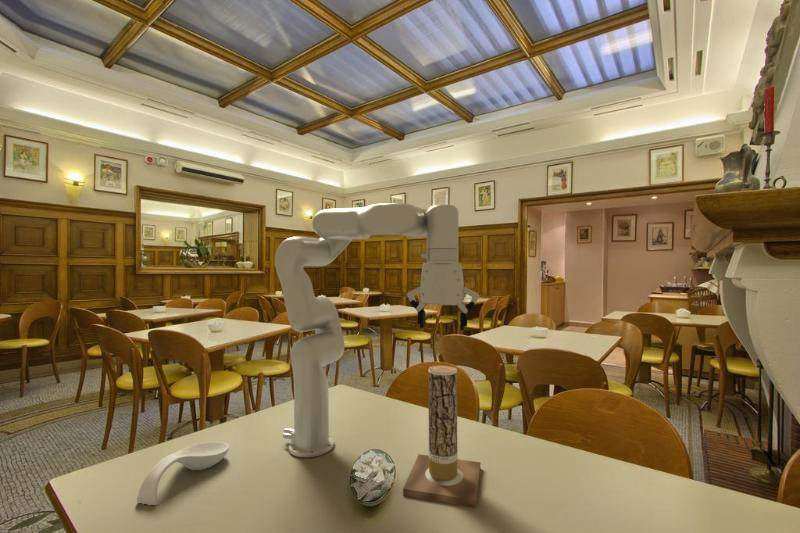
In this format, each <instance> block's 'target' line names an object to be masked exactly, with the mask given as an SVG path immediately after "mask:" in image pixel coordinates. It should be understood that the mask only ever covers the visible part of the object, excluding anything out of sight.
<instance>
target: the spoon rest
mask: <svg viewBox="0 0 800 533" xmlns="http://www.w3.org/2000/svg"><path fill="white" fill-rule="evenodd" d="M229 450H230V444H229V443H226V442H222V441H204V442H199V443H195V444H192V445H189V446H186V447H184V448H181V449H180V450H178V451H175V452H173V453H170V454H168V455H166V456H164V457H163V458H161V459H160V460H159V461H158V462H156V464H155V465H154V466H153V467H152V468H151V469H150V471H149V472H148V474H146V476H145V478H144V480H143V481H142V484H141V486H140V487H139V491H138V494H137V497H136V501H137V502H136V503H137V504H138V503H142V504H141V505H144V504H147V505H146V506H151V505H154V506H157V504H158V487H159V484H160V481H161V478H162V477H163V475H164V474H165V472H167V470H168V469H169V468H170V467H171V466H172V465H173V464H175V463H178V464H180V465H182V466H184V468H187V469H189V470H190V469H191V471H193V470H200V471H204V470H203V469H205V470H207V469H206V468H208V469H210V468H212V467H214V466H215V465H217V464H218V463H219V462H221V461H222V460H223V459H224V457H225V456H226V455H227V453H228V452H229ZM213 465H214V466H213ZM211 466H212V467H211ZM209 467H210V468H209Z"/></svg>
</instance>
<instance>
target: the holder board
mask: <svg viewBox="0 0 800 533" xmlns="http://www.w3.org/2000/svg"><path fill="white" fill-rule="evenodd" d="M480 475H481V461H480V462H479V461H473V460H466V459H465V460H464V459H458V458H457V475H456V477H455V478H453V479H451V480H447V481H442V480H438V479H435V478H433V477H432V476H431V474H430V473H429V454H428V455H427V454H421V453H419V454H417V457H416V459H415V461H414V464H413V466H412V468H411V471H410V473H409V475H408V477H407V479H406V481H405V483H404V485H403V488H402V496H405V497H411V498H416V499H417V498H418V499H423V500H428V501H429V500H430V501H435V502H440V503H448V504H452V505H459V506H465V507H471V508H477V502H478V495H479V494H478V493H479V486H480V485H479V484H480Z"/></svg>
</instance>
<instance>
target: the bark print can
mask: <svg viewBox="0 0 800 533" xmlns="http://www.w3.org/2000/svg"><path fill="white" fill-rule="evenodd" d="M457 370H458V369H457V368H456V367H454V366H451V365H450V366H449V365H433V366H430V367H428V381H427V382H428V456H429V473H430V474H431V476H432V477H433V478H435V479H438V480H442V481H447V480H451V479H453V478H455V477H456V475H457V459H458V371H457Z"/></svg>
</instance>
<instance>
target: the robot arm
mask: <svg viewBox="0 0 800 533" xmlns="http://www.w3.org/2000/svg"><path fill="white" fill-rule="evenodd" d="M311 224H312V229H313V231H314V232H315V234H316V235H317V236H318V237H319V238H317V237H316V238H315V237H309V236H292V237H288V238H286V239H284V240H283V241H282V242H281V243H280V244H279V245H278V248H277V249H276V252H275V256H274V268H275V270H276V275H277V277H278V279H279V282H280V286H281V289H282V294H283V301H284V305H285V309H286V314H287V319H288V323H289V325H290V327H291V329H292V330H293V331H295V332H297V333H303V332H309V331H314V333H315V334H310V335H307V336H303V337H301V338H299V339H297V340H296V341H295V342H294V344H292V347H291V349H290V353H289V354H290V356H289V357H290V363H291V367H292V368H291V369H292V373H293V388H294V389H293V394H294V396H293V401H294V402H293V405H294V408H293V409H294V411H293V414H294V415H293V416H294V417H293V418H294V420H293V424H294V426H293V427H294V428H290V427H285V428H284V429H283V435H282V438H283V439H287V440H288V439H289V440H290V442H289V444H288V453H290V454H291V455H292V456H295V457H298V458H315V457H320V456H322V455H325V454H327V453H328V452H330V451H332V450H333V448H334V446H335V440H334V438H333V437H332V436H330V435H329V434H330V433H329V432H330V431H329V426H330V425H329V420H330V419H329V414H330V412H329V396H330V394H329V379H328V377H327V373H326V372H325V368H324V367H325V366H327V365H330V364H333V363H335V362H337V361H338V360H340V359H341V358H342V356H343V355H344V353H345V346H346V345H345V338H344V335H343V330H342V326H341V321H340V317H339V312H338V309H337V306H336V305H335V304H334V302H333V301H332V300H331V299H329V298H328V297H324V296H316V295H315V292H314V288H313V283H312V280H311V279H310V276H309V275H308V273H307V272H306V271H305V269H304V267H325V266H328V265H329V264H331V263H333V261H334V260H335V259H336V258H338V256H339V255H341V253H342V252H343V251H344V250H345V249H346V248H347V247H348V246H349V245H350V243H351V242H352V241H353V240H367V239H369V238H370V237H371V236H379V235H380V236H387V235H388V236H391V235H393V236H397V235H398V236H404V237H409V238H413V239H414V238H416V239H421V238H426V250H425V251H424V252H420V258H421V259H425V261H426V262H423V264H422V268H421V275H420V286H418V287H416V288H414V289H412V290H410V291H409V292H407V293H406V296H407V298H408V301H409V302H410V305H411V306H412V307H413V308H414V309H415V310H416V312H417V325H419V329H424V328H425V327H426V311H425V308H426V307H427V305H432V306H433V305H435V306H457V307H458V308H459V309H460V311H461V312H460V313H459V314H460V315H459V317H460V318H459V330H460V331H464V330H465V329H466V328H465V327H468V313H469V311H470V310H472V308H474V306H475V305H476V303H477V302H478V301H479V297H480V294H479V293H477V292H475V291H473V290H471V289H469V288H468V287H465V282H464V275H463V274H464V272H463V268H462V263H461V262H459V210H458V208H457V207H456V206H455V205H452V204H435V205H431V206H430V207H428V208H421V207H417V206H415V205H412V204H410V203H406V202H391V203H390V202H389V203H388V202H386V203H375V204H370V205H367V206H362V207H341V208H325V209H322V210H319V211H318V212H317V213H316V214H315V215H314V216H313V218H312V222H311ZM418 294H419V300H420V303H419V301H417V300H416V298H415V296H416V295H418ZM465 294H466V295H467V296H469V297H471V300H470V301H469V303H468V304H465V303H464V300H465Z"/></svg>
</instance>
